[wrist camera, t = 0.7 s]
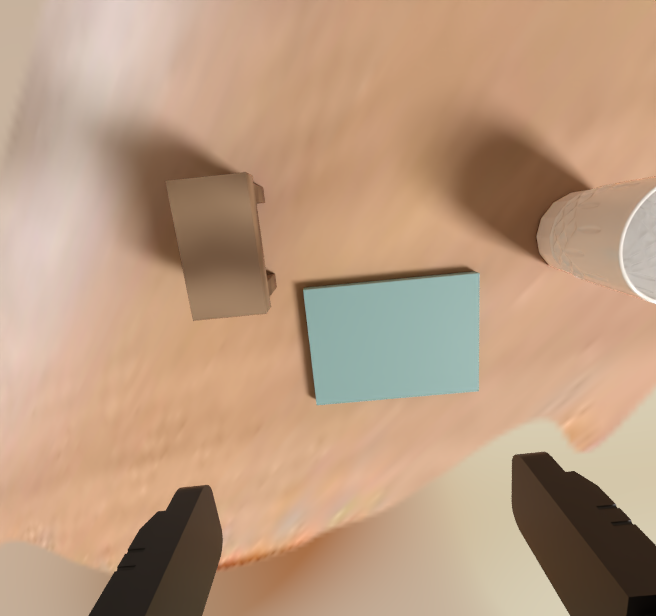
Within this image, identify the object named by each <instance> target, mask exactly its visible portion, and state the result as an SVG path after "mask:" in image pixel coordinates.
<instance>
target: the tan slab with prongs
mask: <svg viewBox="0 0 656 616" xmlns="http://www.w3.org/2000/svg"><path fill="white" fill-rule="evenodd" d="M165 182H166V187H167V192H168V197H169V202H170V208H171V213H172V218H173V223H174V228H175V233H176V238H177V243H178V248H179V253H180V258H181V263H182V268H183V273H184V278H185V283H186V288H187V293H188V298H189V303H190V308H191V313H192V318H193V321H196V320H206V319H217V318H228V317H238V316H249V315H259V314H267V312H268V310H269V309H270V307H271V303H270V295H271V294H272V293H273V291H274V290H275V289H276V287H277V286H276V279H275V274H266V268H265V261H264V254H263V247H262V239H261V232H260V225H259V218H258V211H257V203H265V198H264V190H263V187H261V186H258V185H256V184H254V183H253V176H252V175H250V174H248V173H246V172H243V173H234V174H224V175H215V176H205V177H196V178H186V179H177V180H167V181H165Z"/></svg>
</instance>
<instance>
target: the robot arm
mask: <svg viewBox="0 0 656 616" xmlns="http://www.w3.org/2000/svg"><path fill="white" fill-rule="evenodd" d="M512 509H513V514H514V517H515V520H516V523H517V525H518V527H519V530H520V531H521V533H522V535H523V537H524V538H525V540H526V542H527V543H528V545H529V547H530V548H531V550H532V552H533V554H534V555H535V556H536V559H537V560H538V562H539V564H540V565H541V567H542V569H543V570H544V572H545V574H546V575H547V577H548V579H549V580H550V582H551V584H552V586H553V587H554V589H555V591H556V592H557V594H558V596H559V597H560V599H561V601H562V603H563V604H564V606H565V607H566V609H567V611H568V613H569V614H570V616H656V546H655V544H654V543H653V542H652V541H651V540H650V539H649V538H648V537H647V536H646V535H645V534H644V533H643V532H642V531H641V530H640V529H639V528H638V527H637V526H636V525H633V524H632V522H631V519H630V518H629V517H628V516H627V515H626V514H625V513H624V512H623V511H622V510H621V509H620V508H617V507H616V504H615V503H614V502H613V501H612V500H611V499H610V498H609V497H608V496H607V495H606V494H605V493H604V492H603V491H602V490H601V489H600V488H599V487H598V486H597V485H596V484H594V483H593V482H591V481H589V480H588V479H586V478H584V477H583V476H581V475H580V474H578V473H576V472H575V471H571V472H565V471H564V470H563V469H562V468H561V467H560V466H559V465H558V464H557V462H556V461H555V460H554V459H553V458H552V457H551V456H550V455H549V454H548V453H546V452H537V453H527V454H517V455H514V456H513V459H512ZM222 541H223V538H222V529H221V525H220V521H219V517H218V513H217V509H216V505H215V501H214V497H213V493H212V489H211V487H210V486H209V485H202V486H193V487H183V488H179V489H178V490H177V491H176V493H175V495H174V496H173V498H172V500H171V502H170V504H169V506H168V507H167V509H166V511H158V512H157V513H156V514H155V515H154V516H153V517H152V518H151V519H150V520H149V521H148V522H147V523H146V524H145V525H144V526H143V527H142V528H141V529H140V530H139V532H138V533H137V535H136V537H135V538H134V540H133V542H132V543H131V545H130V547H129V548H128V553H127V554H125V555H124V557H123V558H122V560H121V562H120V564H119V565H118V569H117V571H116V572H114V574H113V575H112V577H111V579H110V581H109V582H108V584H107V585H106V587H105V589H104V591H103V592H102V594H101V596H100V597H99V599H98V601H97V602H96V604H95V606H94V608H93V609H92V611H91V613H90V614H89V616H202V614H203V611H204V607H205V604H206V601H207V598H208V595H209V592H210V589H211V586H212V582H213V579H214V576H215V573H216V570H217V566H218V563H219V560H220V557H221V552H222Z"/></svg>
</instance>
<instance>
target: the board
mask: <svg viewBox="0 0 656 616" xmlns="http://www.w3.org/2000/svg"><path fill="white" fill-rule="evenodd" d="M303 293H304V301H305V310H306V318H307V327H308V335H309V344H310V352H311V361H312V369H313V378H314V386H315V395H316V403H317V405H325V404H337V403H348V402H360V401H371V400H383V399H394V398H406V397H417V396H429V395H440V394H452V393H463V392H475V391H479V273H478V272H475V271H473V272H463V273H452V274H442V275H432V276H421V277H411V278H400V279H390V280H380V281H369V282H359V283H348V284H338V285H328V286H317V287H307V288H304V289H303Z"/></svg>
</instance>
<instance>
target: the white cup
mask: <svg viewBox="0 0 656 616" xmlns="http://www.w3.org/2000/svg"><path fill="white" fill-rule="evenodd" d="M536 238H537V243H538V249H539V253H540V255H541V256H542V257H543V258H544V260H545V261H546V262H547V263H548V265H549V266H551V267H553V268H556V269H558V270H561V271H563V272H566V273H569V274H572V275H574V276H575V277H577V278H580V279H583V280H585V281H587V282H590V283H593V284H596V285H599V286H602V287H605V288H608V289H611V290H614V291H617V292H621V293H624V294H627V295H630V296H633V297H636V298H639V299H642V300H645V301H648V302H651V303H654V304H656V176H654V177H648V178H642V179H636V180H630V181H624V182H619V183H615V184H610V185H605V186H600V187H597V188H594V189H591V190H585V191H578V192H572V193H569V194H568V195H566V196H564V197H562V198H561V199H559V200H557V201H555V202H554V203H553V204H552V205H551V206H550V208H549V209H548V210H547V211H546V213H545V214H544V215H543V217H542V218H541V221H540V224H539V228H538V232H537V235H536Z"/></svg>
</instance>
